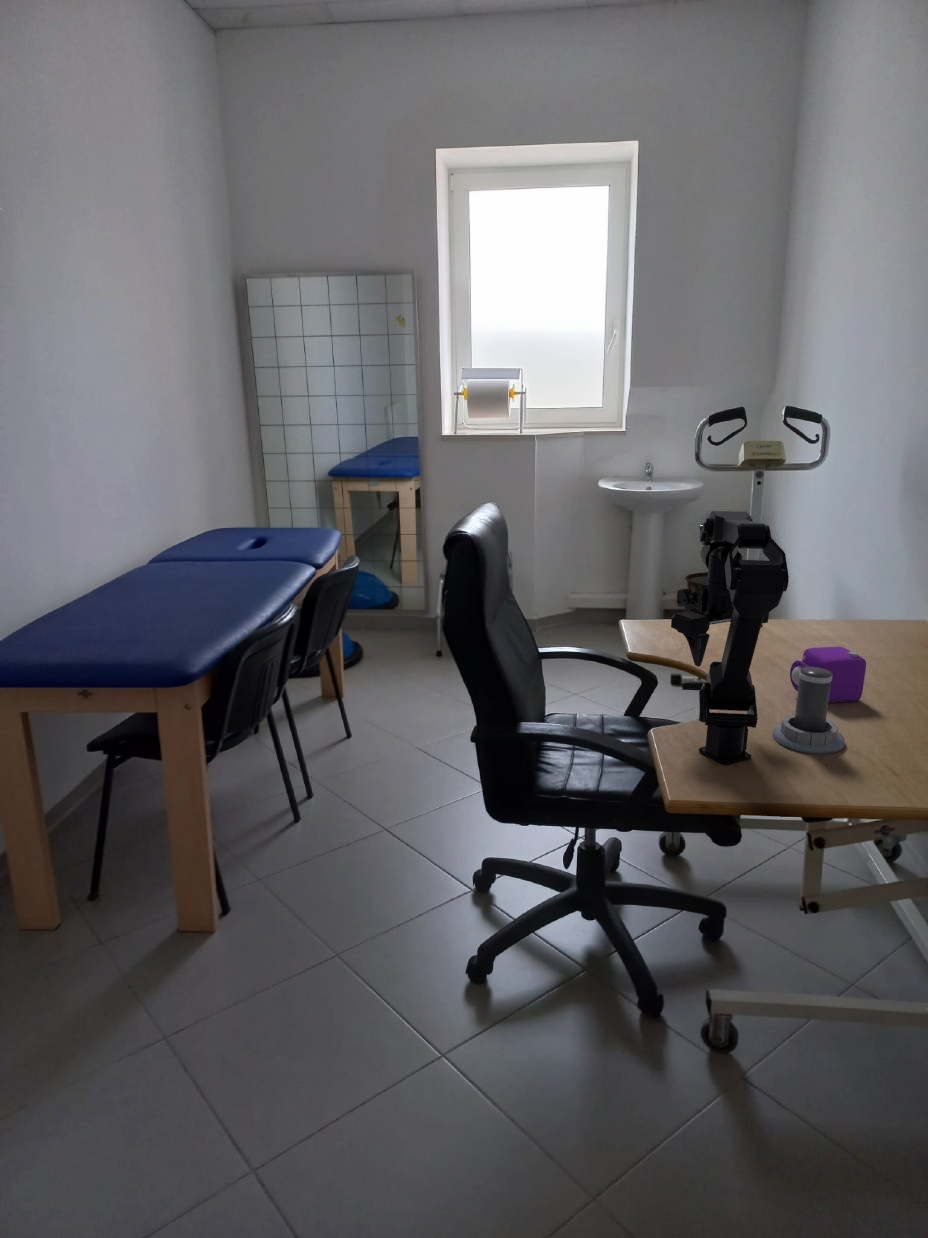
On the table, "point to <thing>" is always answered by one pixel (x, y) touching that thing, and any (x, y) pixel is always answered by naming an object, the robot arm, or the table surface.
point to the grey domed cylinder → (812, 699)
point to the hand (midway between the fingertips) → (716, 662)
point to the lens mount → (808, 737)
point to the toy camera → (835, 671)
